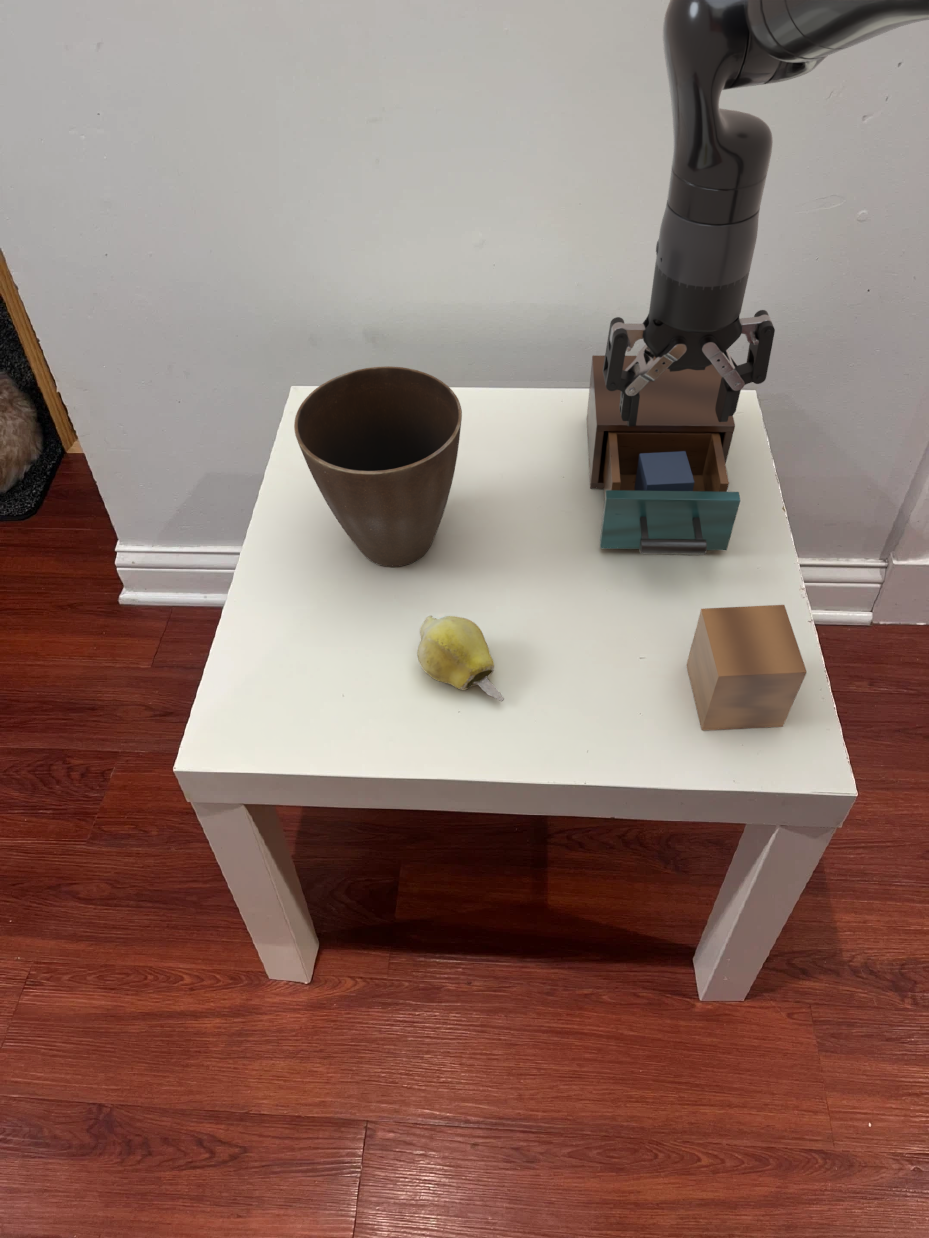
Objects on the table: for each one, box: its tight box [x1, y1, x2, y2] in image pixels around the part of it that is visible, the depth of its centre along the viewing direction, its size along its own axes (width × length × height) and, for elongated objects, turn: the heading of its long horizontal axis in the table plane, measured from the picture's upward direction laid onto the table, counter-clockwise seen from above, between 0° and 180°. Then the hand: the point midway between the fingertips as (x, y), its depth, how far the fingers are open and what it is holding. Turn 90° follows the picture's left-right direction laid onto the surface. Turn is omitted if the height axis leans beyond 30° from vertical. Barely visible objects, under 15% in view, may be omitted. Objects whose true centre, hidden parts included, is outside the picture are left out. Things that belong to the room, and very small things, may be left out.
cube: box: [686, 604, 807, 731], centre depth 78 cm, size 7×7×8 cm
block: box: [634, 451, 695, 491], centre depth 92 cm, size 5×5×5 cm
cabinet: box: [586, 354, 736, 490], centre depth 98 cm, size 12×14×9 cm
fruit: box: [416, 615, 505, 702], centre depth 82 cm, size 6×6×10 cm
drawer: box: [599, 431, 741, 555], centre depth 91 cm, size 15×12×7 cm
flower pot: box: [293, 365, 463, 568], centre depth 88 cm, size 15×15×16 cm
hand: (675, 419), depth 87 cm, fingers open, 8 cm apart
